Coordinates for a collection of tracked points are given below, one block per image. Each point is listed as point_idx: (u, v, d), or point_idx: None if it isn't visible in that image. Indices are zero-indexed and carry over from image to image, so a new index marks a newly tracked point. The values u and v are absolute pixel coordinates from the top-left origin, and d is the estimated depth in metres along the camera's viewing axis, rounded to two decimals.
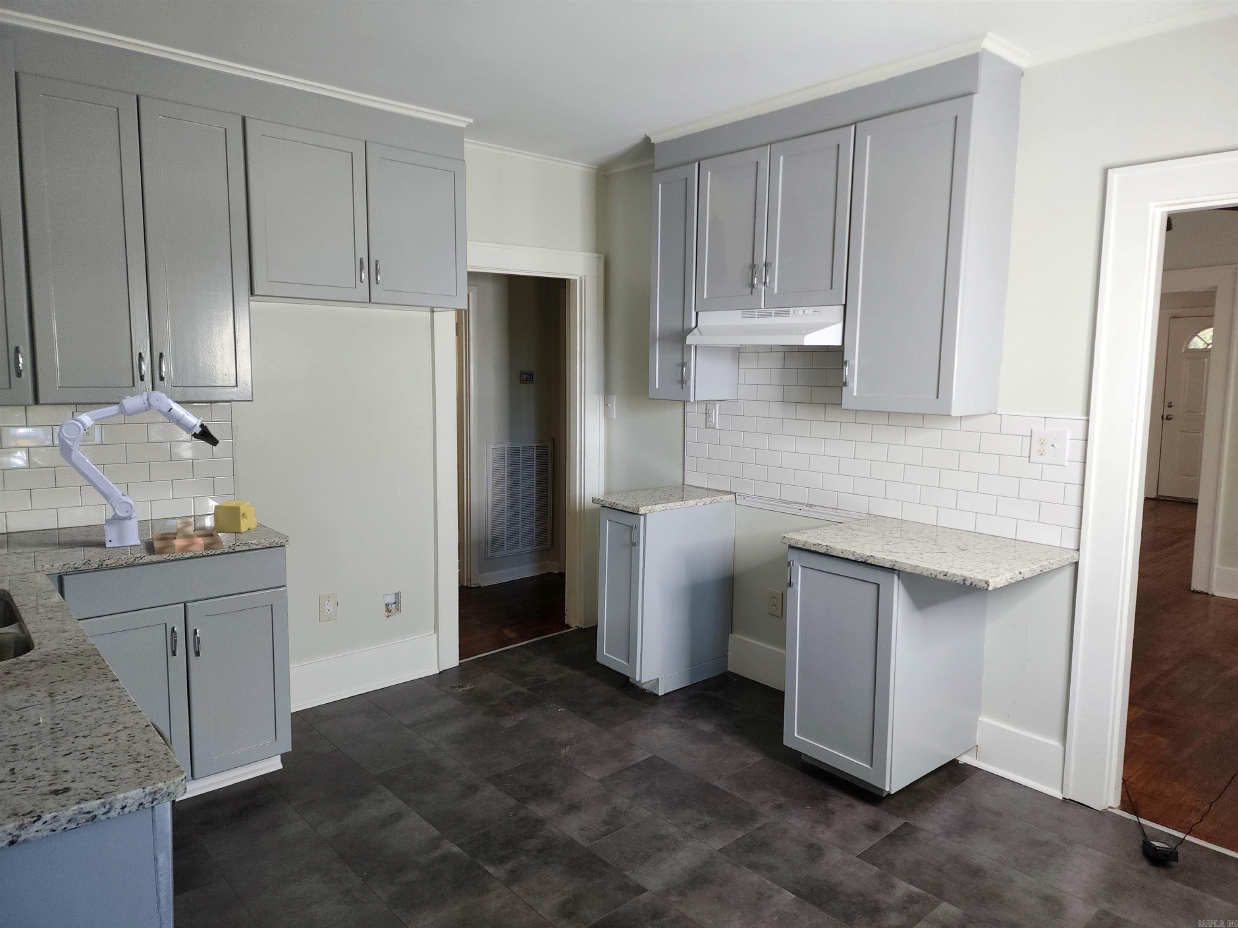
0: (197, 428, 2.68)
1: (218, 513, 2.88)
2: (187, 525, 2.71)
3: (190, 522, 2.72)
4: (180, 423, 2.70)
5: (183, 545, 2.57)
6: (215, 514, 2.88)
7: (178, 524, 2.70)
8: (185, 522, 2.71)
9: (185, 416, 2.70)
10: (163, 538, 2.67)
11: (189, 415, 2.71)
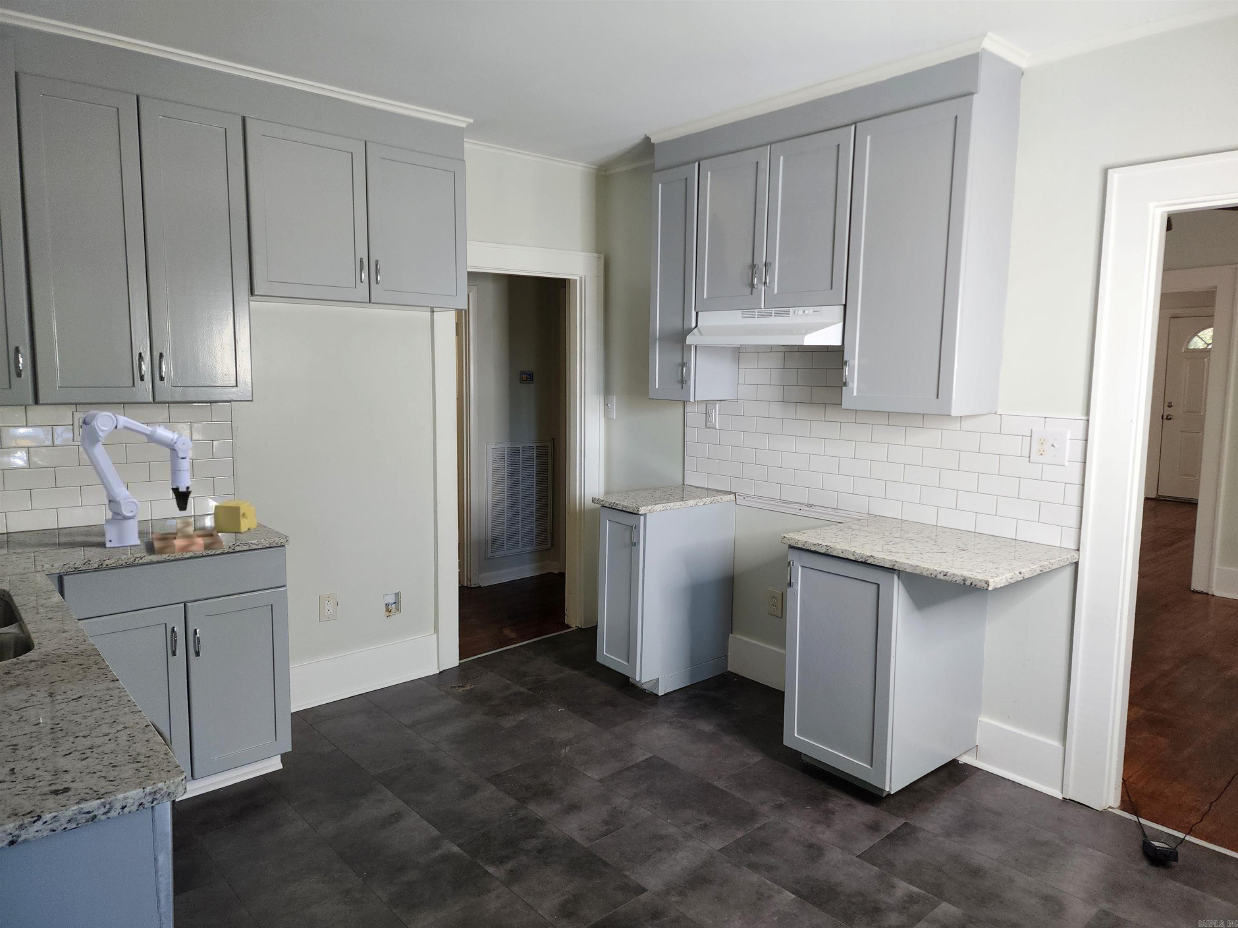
0: (183, 487, 2.73)
1: (218, 513, 2.88)
2: (187, 525, 2.71)
3: (190, 522, 2.72)
4: (175, 473, 2.76)
5: (183, 545, 2.57)
6: (215, 514, 2.88)
7: (178, 524, 2.70)
8: (185, 522, 2.71)
9: (185, 472, 2.77)
10: (163, 538, 2.67)
11: (188, 473, 2.78)
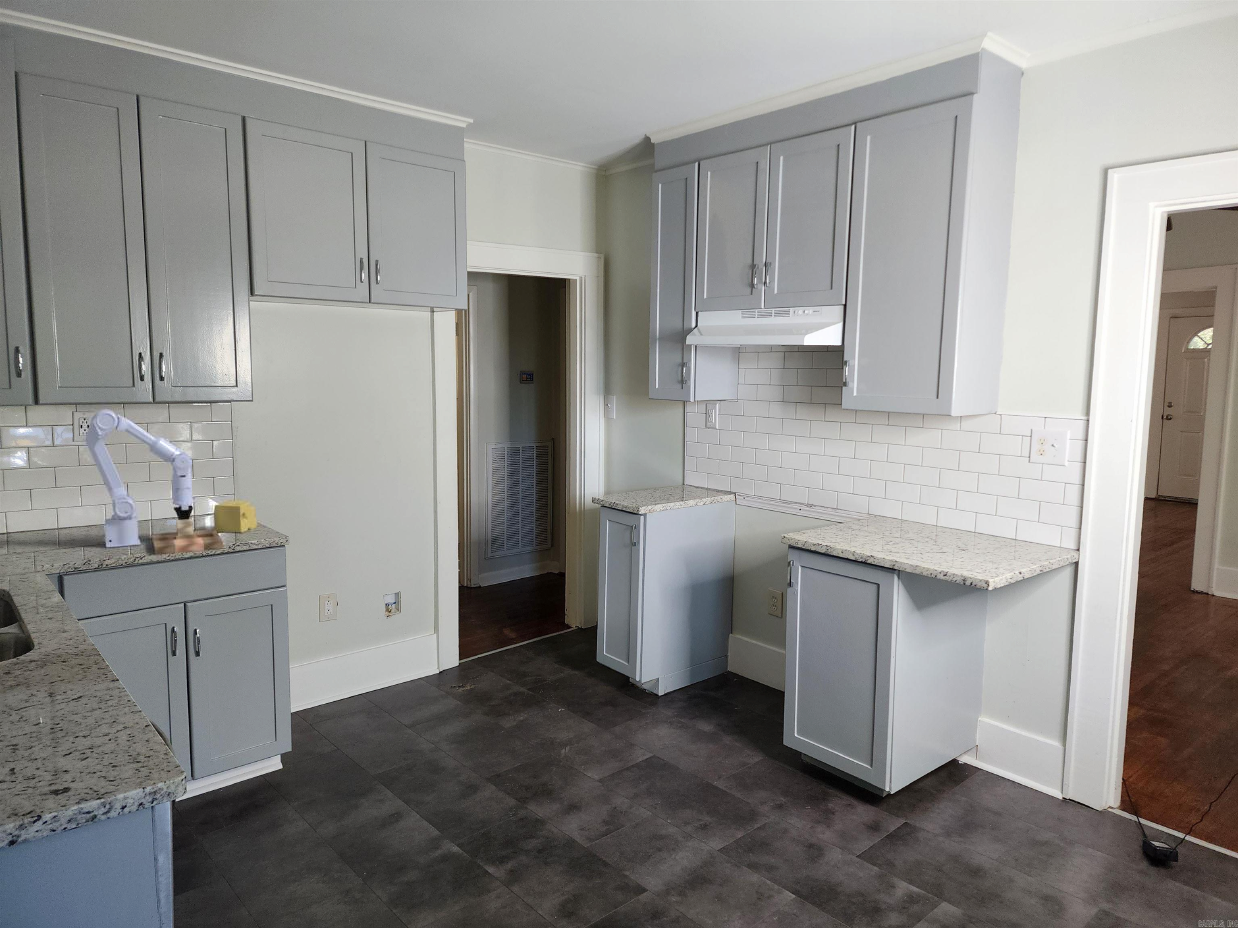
0: (186, 506, 2.69)
1: (218, 513, 2.88)
2: (187, 525, 2.71)
3: (190, 522, 2.71)
4: (177, 491, 2.71)
5: (183, 545, 2.57)
6: (215, 514, 2.88)
7: (178, 524, 2.69)
8: (185, 522, 2.70)
9: (187, 490, 2.73)
10: (163, 538, 2.67)
11: (190, 492, 2.74)
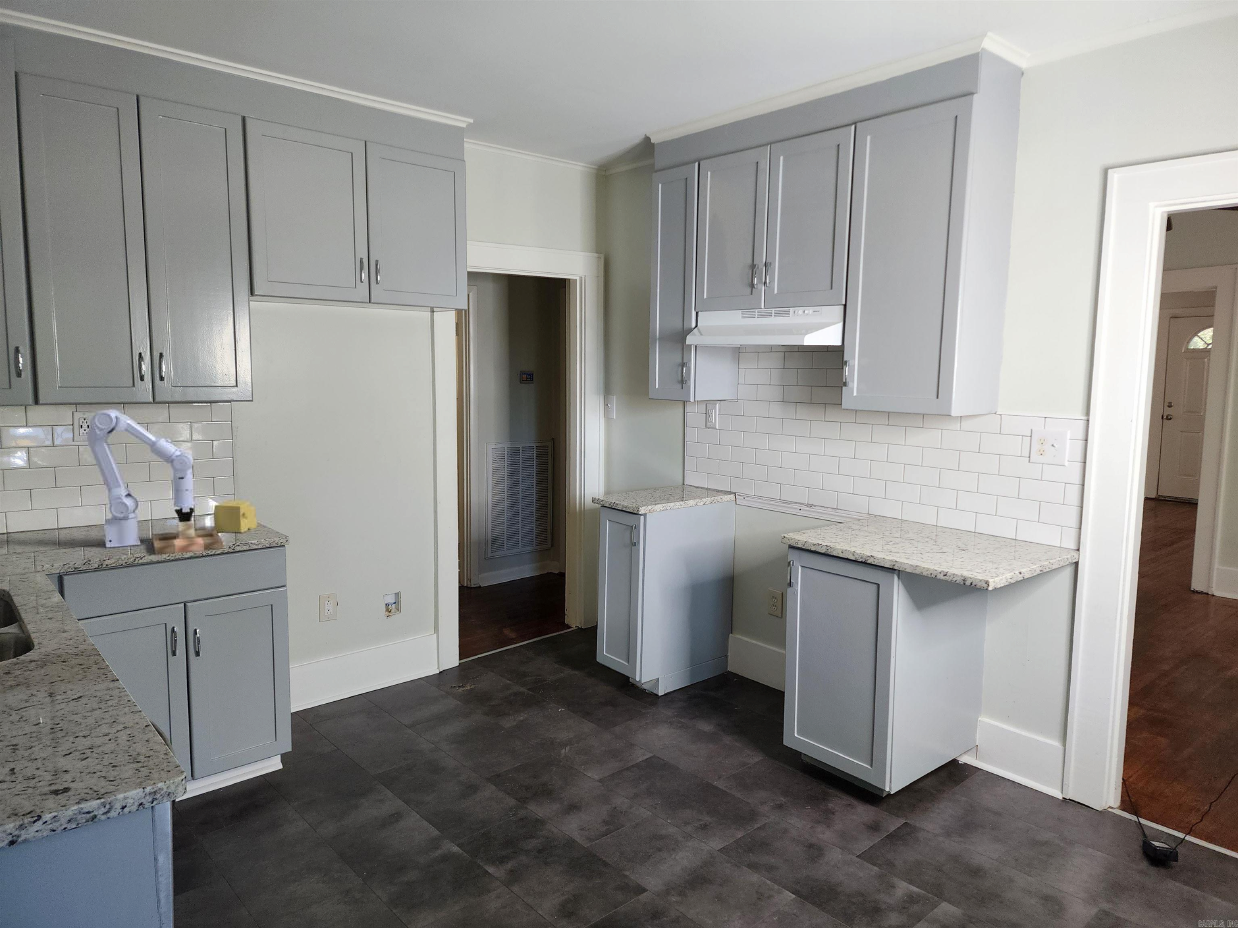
0: (187, 508, 2.65)
1: (218, 513, 2.88)
2: (188, 527, 2.67)
3: (192, 525, 2.68)
4: (178, 493, 2.68)
5: (183, 545, 2.57)
6: (215, 514, 2.88)
7: (179, 527, 2.66)
8: (186, 525, 2.67)
9: (188, 492, 2.69)
10: (163, 538, 2.67)
11: (191, 493, 2.70)
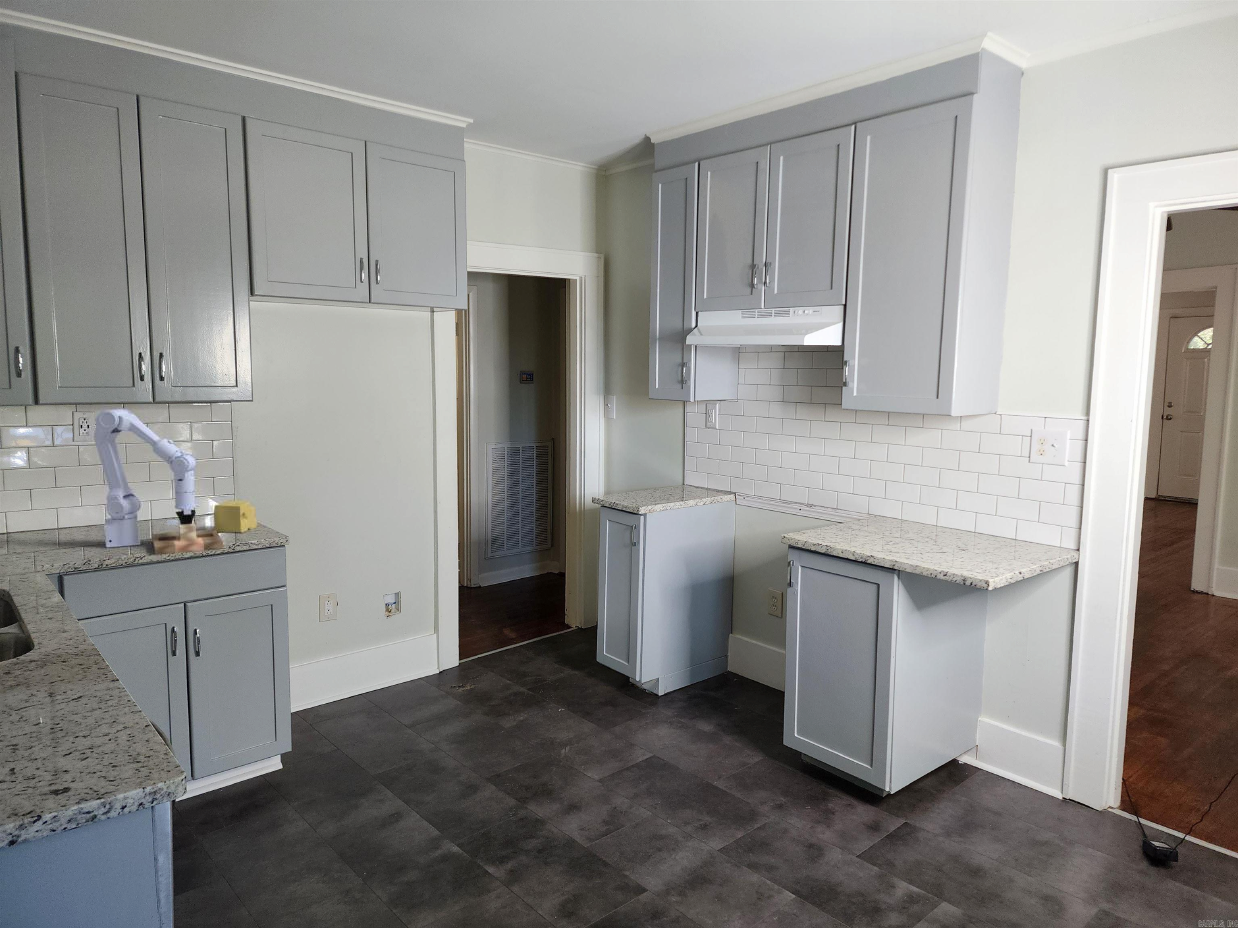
0: (188, 510, 2.61)
1: (218, 513, 2.88)
2: (190, 530, 2.63)
3: (193, 527, 2.63)
4: (180, 495, 2.63)
5: (183, 545, 2.57)
6: (215, 514, 2.88)
7: (181, 529, 2.62)
8: (188, 527, 2.63)
9: (189, 494, 2.65)
10: (163, 538, 2.67)
11: (193, 495, 2.66)
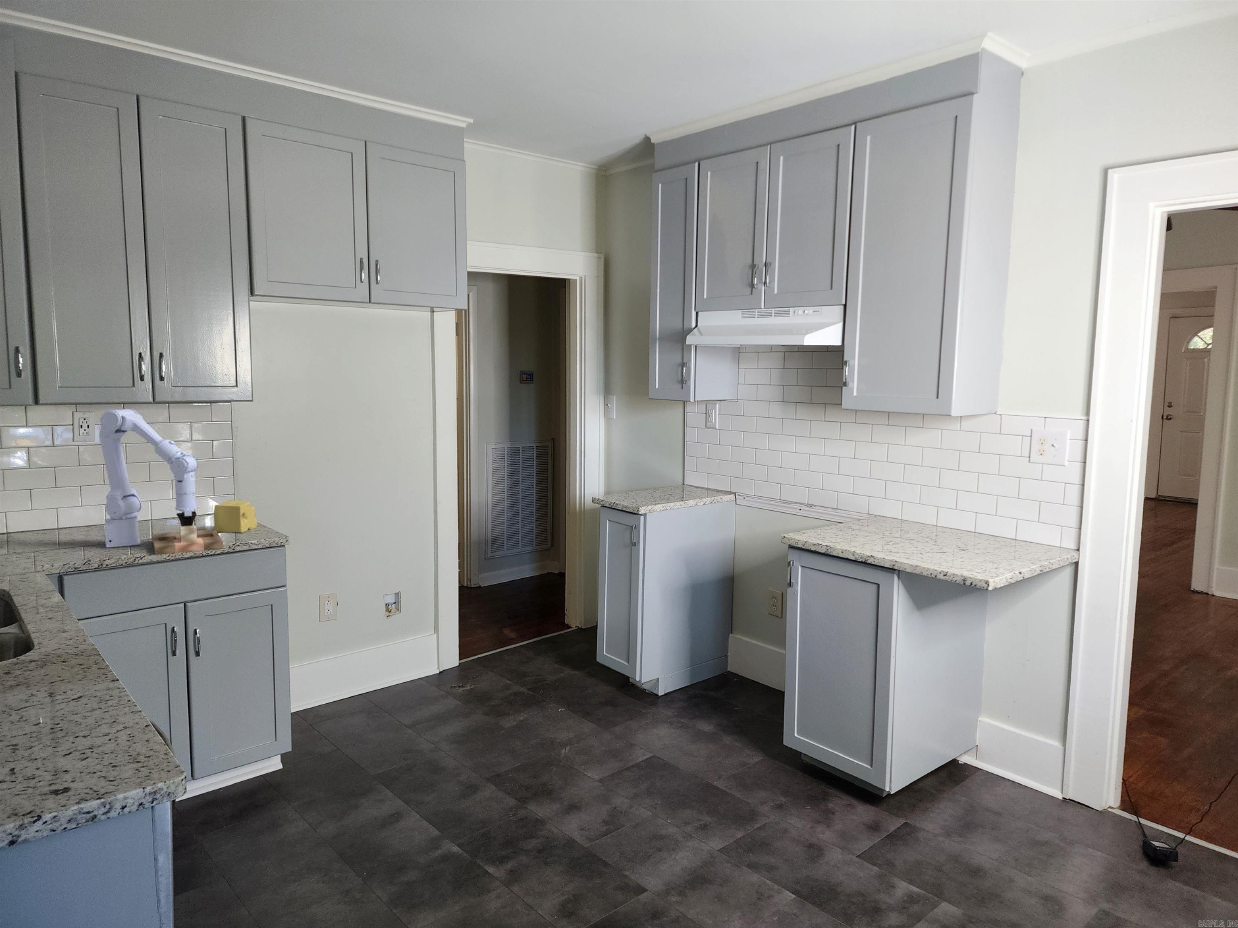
0: (189, 512, 2.58)
1: (218, 513, 2.88)
2: (190, 531, 2.60)
3: (194, 529, 2.61)
4: (180, 497, 2.61)
5: (183, 545, 2.57)
6: (215, 514, 2.88)
7: (181, 531, 2.59)
8: (189, 529, 2.60)
9: (190, 495, 2.62)
10: (163, 538, 2.67)
11: (193, 497, 2.63)
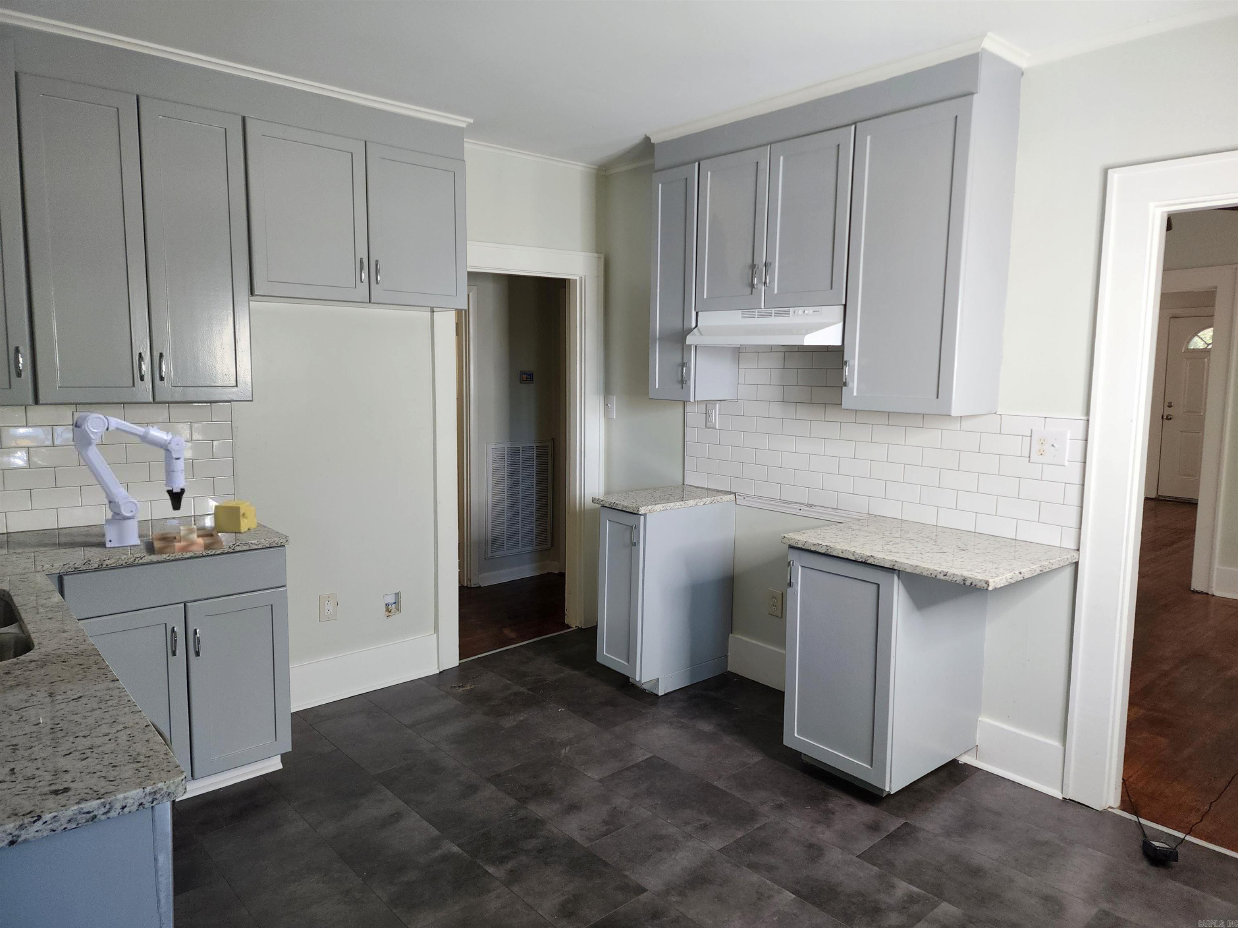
0: (177, 488, 2.71)
1: (218, 513, 2.88)
2: (190, 531, 2.60)
3: (194, 529, 2.61)
4: (170, 474, 2.74)
5: (183, 545, 2.57)
6: (215, 514, 2.88)
7: (181, 531, 2.59)
8: (189, 529, 2.60)
9: (179, 472, 2.75)
10: (163, 538, 2.67)
11: (182, 474, 2.76)
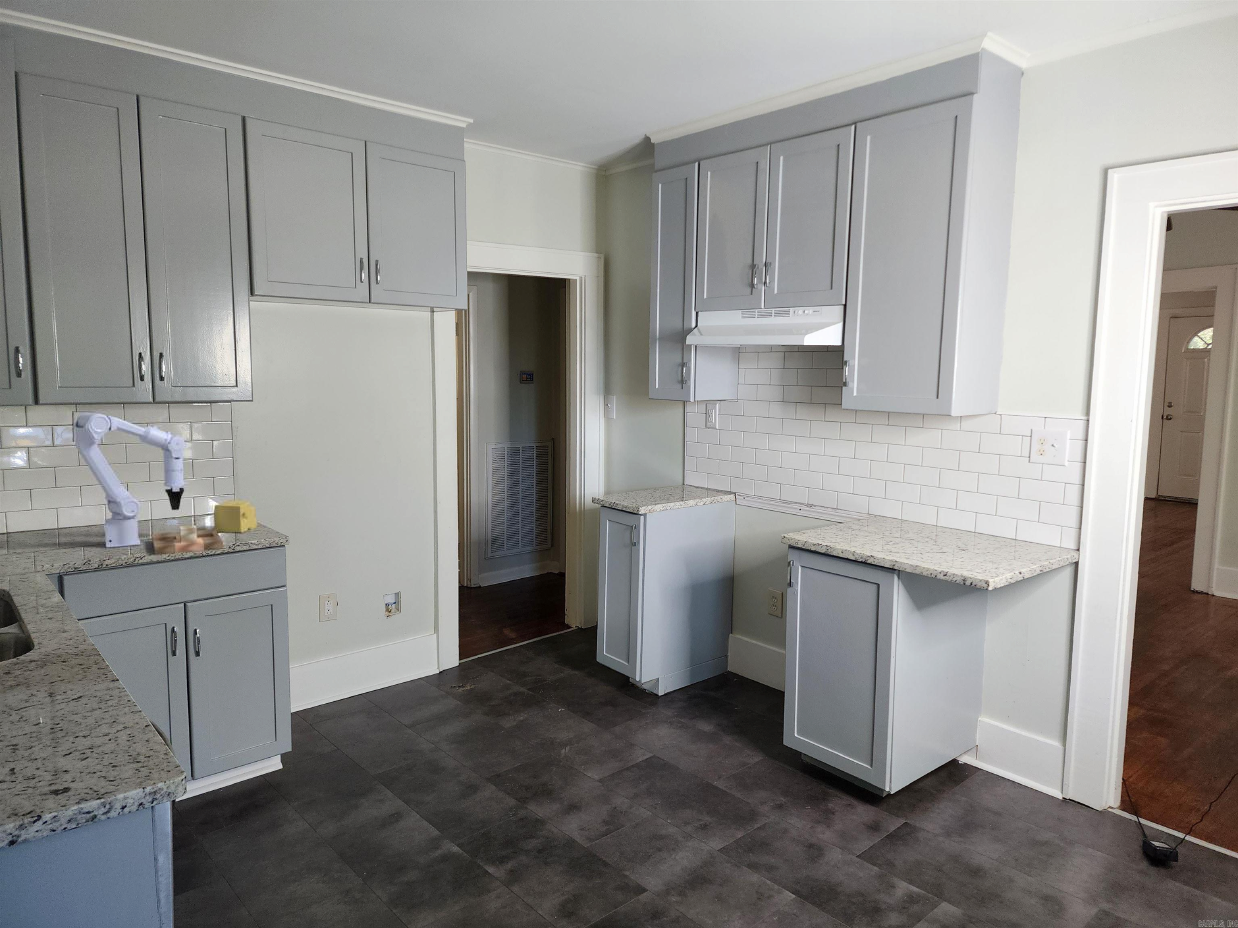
0: (177, 488, 2.72)
1: (218, 513, 2.88)
2: (190, 531, 2.60)
3: (194, 529, 2.61)
4: (169, 473, 2.75)
5: (183, 545, 2.57)
6: (215, 514, 2.88)
7: (181, 531, 2.59)
8: (189, 529, 2.60)
9: (178, 472, 2.76)
10: (163, 538, 2.67)
11: (181, 474, 2.77)
